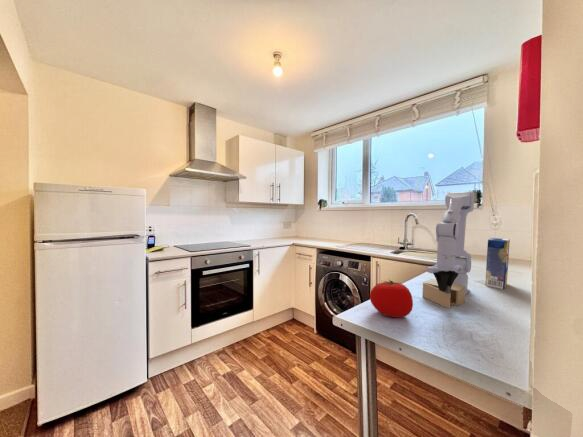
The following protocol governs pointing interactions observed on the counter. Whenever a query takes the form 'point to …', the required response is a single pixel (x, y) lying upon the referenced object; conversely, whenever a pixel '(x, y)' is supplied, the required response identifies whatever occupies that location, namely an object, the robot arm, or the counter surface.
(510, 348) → the counter surface
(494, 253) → the beverage box
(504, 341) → the counter surface
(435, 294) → the carton flap
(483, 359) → the counter surface
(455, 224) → the robot arm
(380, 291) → the tomato
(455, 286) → the carton
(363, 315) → the counter surface
